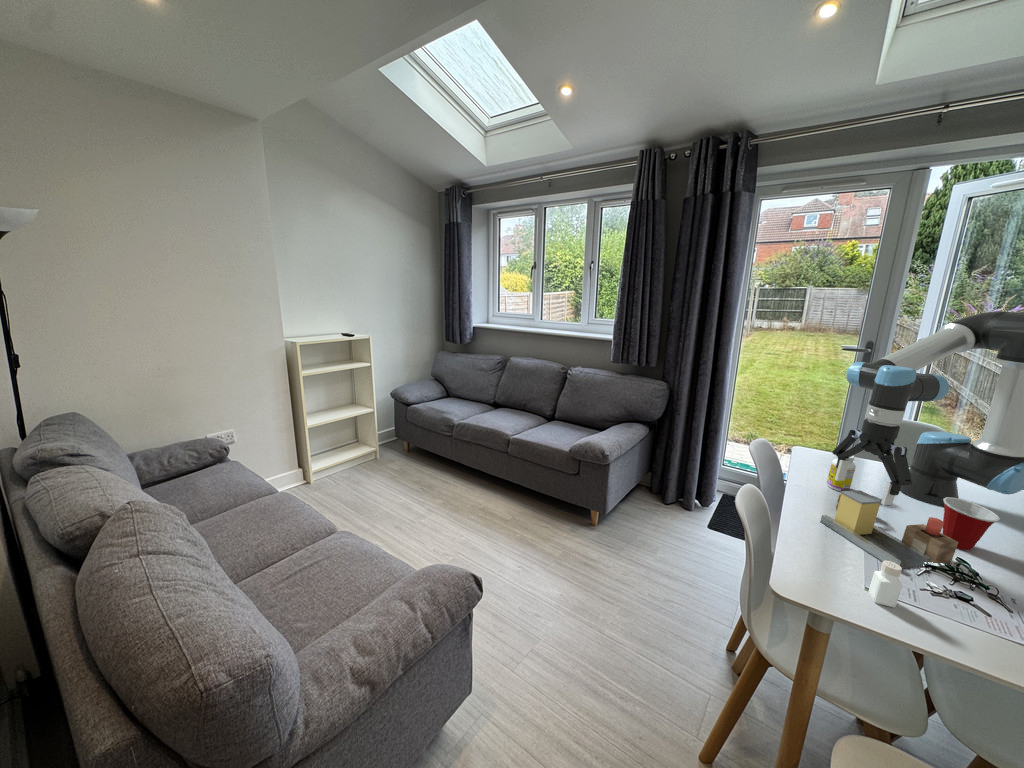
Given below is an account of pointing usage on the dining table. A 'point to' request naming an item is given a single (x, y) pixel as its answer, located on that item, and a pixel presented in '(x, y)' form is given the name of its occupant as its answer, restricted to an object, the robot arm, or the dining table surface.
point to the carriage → (857, 511)
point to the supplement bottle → (848, 479)
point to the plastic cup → (966, 522)
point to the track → (880, 545)
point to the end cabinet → (930, 543)
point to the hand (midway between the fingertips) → (861, 491)
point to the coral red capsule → (934, 526)
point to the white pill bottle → (886, 584)
